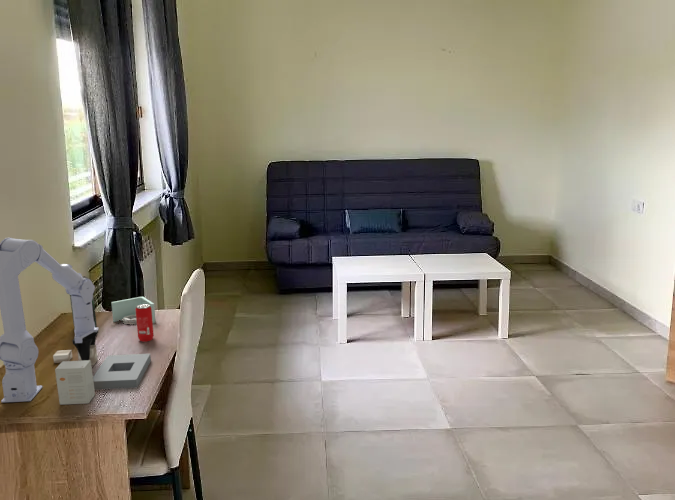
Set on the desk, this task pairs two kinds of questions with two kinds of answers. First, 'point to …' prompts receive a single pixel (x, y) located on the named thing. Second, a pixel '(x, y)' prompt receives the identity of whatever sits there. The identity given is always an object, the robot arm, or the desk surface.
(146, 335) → the beverage can
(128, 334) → the desk surface
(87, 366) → the small box
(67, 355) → the short peg
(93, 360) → the cream square block
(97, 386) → the hole board
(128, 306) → the l-shaped corner panel
